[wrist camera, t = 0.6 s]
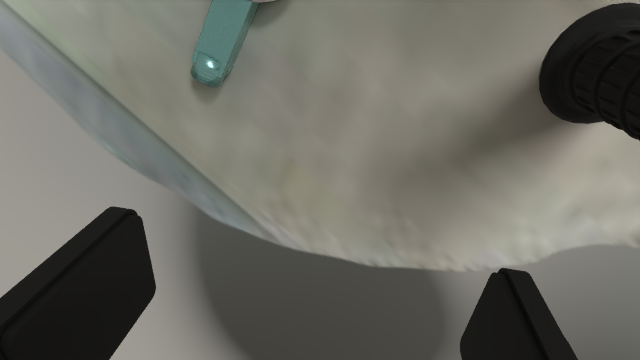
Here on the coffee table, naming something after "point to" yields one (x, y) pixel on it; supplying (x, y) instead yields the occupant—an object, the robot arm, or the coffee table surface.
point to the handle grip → (597, 70)
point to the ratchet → (222, 39)
